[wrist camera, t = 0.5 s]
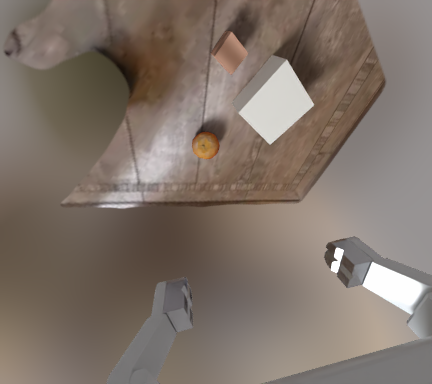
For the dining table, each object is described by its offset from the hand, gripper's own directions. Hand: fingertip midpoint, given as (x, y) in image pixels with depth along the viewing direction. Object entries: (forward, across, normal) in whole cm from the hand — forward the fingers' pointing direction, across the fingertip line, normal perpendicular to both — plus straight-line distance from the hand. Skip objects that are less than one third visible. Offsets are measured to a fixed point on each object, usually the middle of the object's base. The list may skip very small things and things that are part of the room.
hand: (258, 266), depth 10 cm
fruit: (+50, -1, +3) cm, 50 cm away
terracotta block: (+43, -9, -17) cm, 48 cm away
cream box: (+47, -20, -6) cm, 51 cm away
